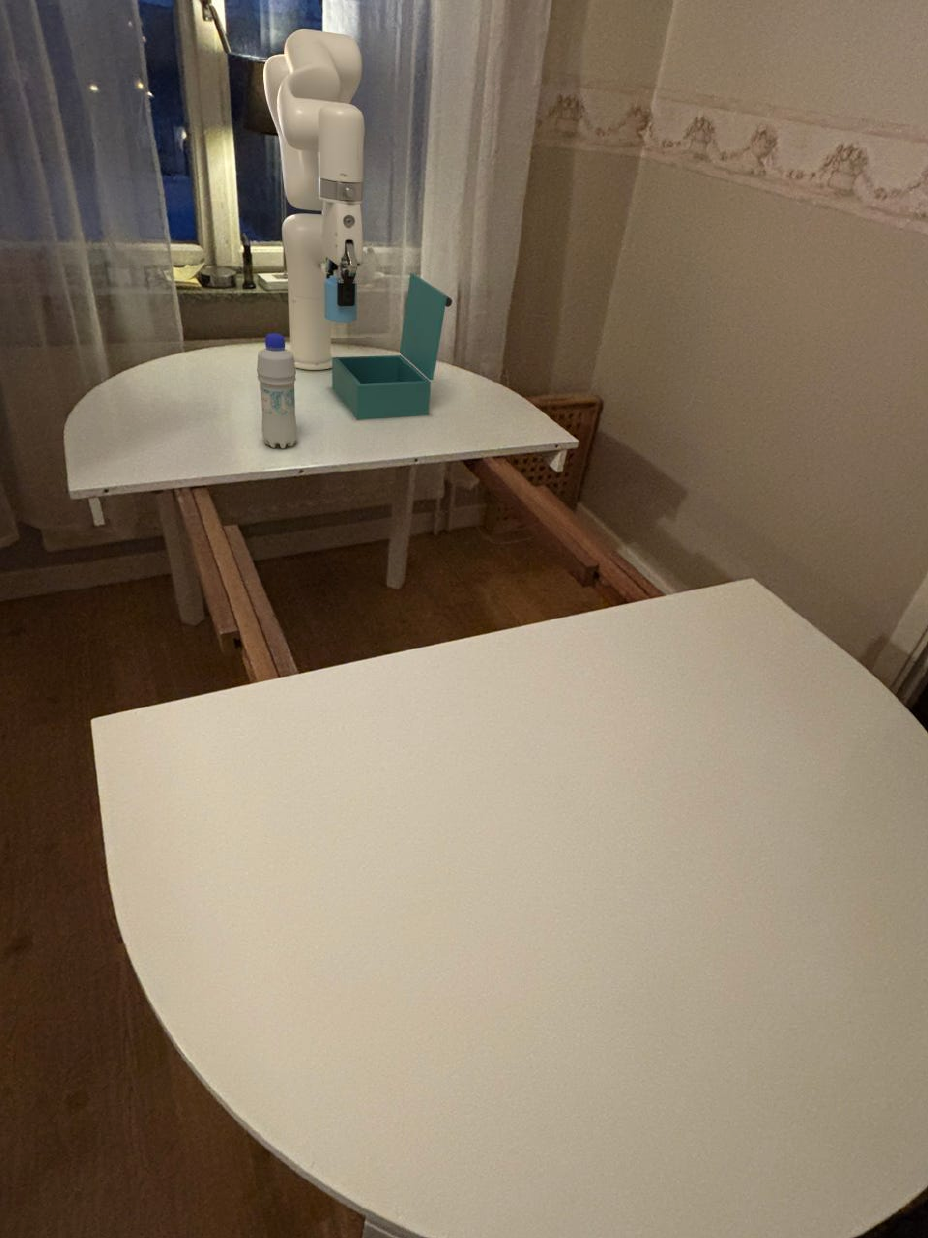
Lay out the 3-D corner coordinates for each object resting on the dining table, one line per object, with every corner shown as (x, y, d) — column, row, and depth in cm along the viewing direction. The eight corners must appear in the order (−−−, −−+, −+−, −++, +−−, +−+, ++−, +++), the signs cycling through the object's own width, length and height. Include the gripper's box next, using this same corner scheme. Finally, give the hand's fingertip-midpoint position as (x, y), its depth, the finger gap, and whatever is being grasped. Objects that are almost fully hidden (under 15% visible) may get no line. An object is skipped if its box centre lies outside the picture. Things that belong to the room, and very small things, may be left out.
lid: (443, 295, 144) (466, 297, 147) (410, 272, 157) (432, 275, 159) (429, 380, 154) (451, 381, 156) (399, 352, 166) (420, 353, 169)
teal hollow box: (357, 419, 152) (357, 385, 148) (332, 388, 165) (332, 356, 161) (428, 414, 158) (431, 382, 154) (399, 385, 171) (401, 354, 167)
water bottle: (320, 313, 142) (320, 267, 137) (350, 313, 144) (351, 267, 139) (329, 322, 138) (329, 274, 133) (360, 322, 140) (361, 275, 135)
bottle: (257, 437, 140) (250, 328, 128) (292, 435, 142) (289, 327, 130) (266, 452, 135) (259, 340, 123) (302, 449, 138) (299, 339, 126)
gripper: (378, 200, 124) (374, 313, 134) (346, 185, 136) (345, 289, 147) (335, 198, 121) (334, 313, 131) (306, 182, 133) (308, 289, 144)
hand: (340, 299), depth 139 cm, fingers closed on water bottle, 6 cm apart
